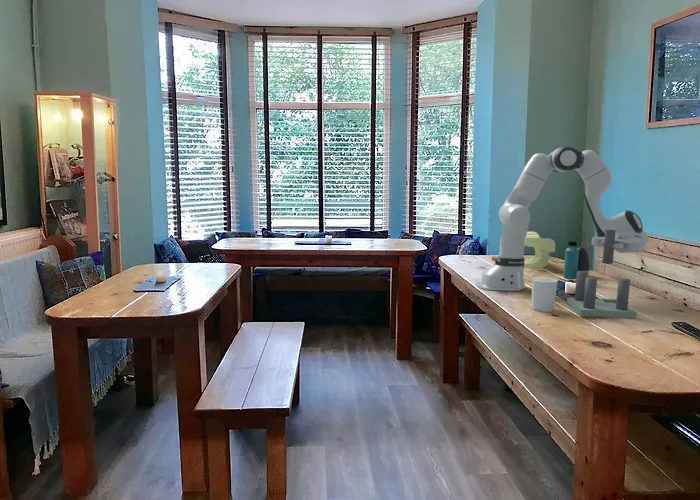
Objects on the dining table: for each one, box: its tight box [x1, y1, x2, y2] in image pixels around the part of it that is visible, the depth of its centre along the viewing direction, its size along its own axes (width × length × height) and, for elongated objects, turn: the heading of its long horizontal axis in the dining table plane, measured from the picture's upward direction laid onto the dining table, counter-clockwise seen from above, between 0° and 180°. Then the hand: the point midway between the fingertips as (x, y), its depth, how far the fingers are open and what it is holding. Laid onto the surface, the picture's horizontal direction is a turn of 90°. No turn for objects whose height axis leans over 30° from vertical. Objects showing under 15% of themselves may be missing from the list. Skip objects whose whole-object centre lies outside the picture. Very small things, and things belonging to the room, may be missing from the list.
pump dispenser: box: [576, 246, 591, 274], centre depth 286 cm, size 10×10×15 cm
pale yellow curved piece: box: [524, 231, 556, 269], centre depth 313 cm, size 30×16×18 cm, turn 178°
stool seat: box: [566, 271, 637, 320], centre depth 217 cm, size 20×20×14 cm
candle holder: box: [531, 276, 559, 313], centre depth 218 cm, size 10×10×12 cm
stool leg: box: [602, 230, 616, 265], centre depth 231 cm, size 4×4×14 cm
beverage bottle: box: [562, 240, 579, 280], centre depth 272 cm, size 6×7×20 cm
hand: (608, 245), depth 230 cm, fingers closed on stool leg, 4 cm apart
